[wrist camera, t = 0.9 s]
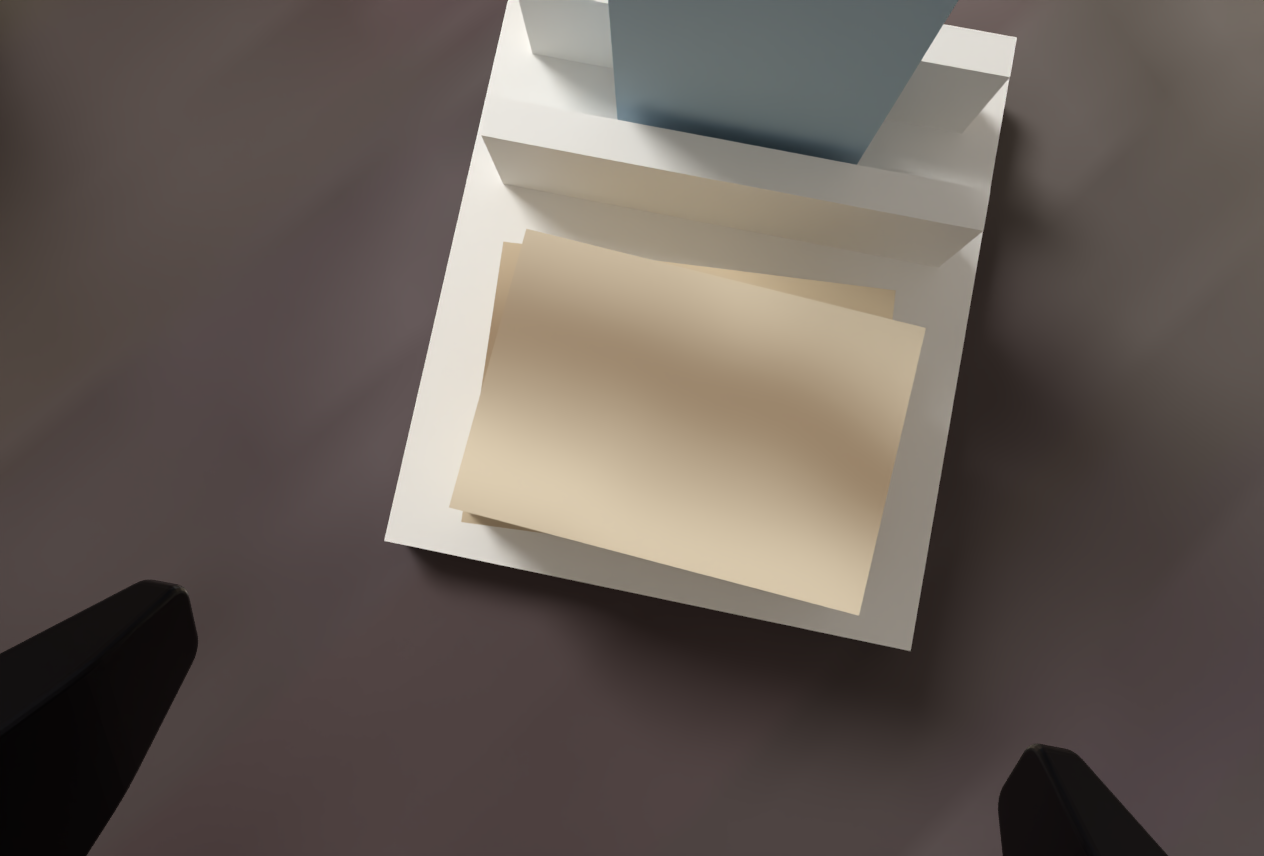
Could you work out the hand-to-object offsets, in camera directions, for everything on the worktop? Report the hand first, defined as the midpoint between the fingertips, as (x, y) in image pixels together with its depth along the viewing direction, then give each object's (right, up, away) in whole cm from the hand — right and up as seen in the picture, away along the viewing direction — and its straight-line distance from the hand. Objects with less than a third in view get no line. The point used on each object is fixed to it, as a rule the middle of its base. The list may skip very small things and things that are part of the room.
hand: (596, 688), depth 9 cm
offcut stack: (+2, +3, +13) cm, 14 cm away
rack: (+2, +6, +15) cm, 16 cm away
